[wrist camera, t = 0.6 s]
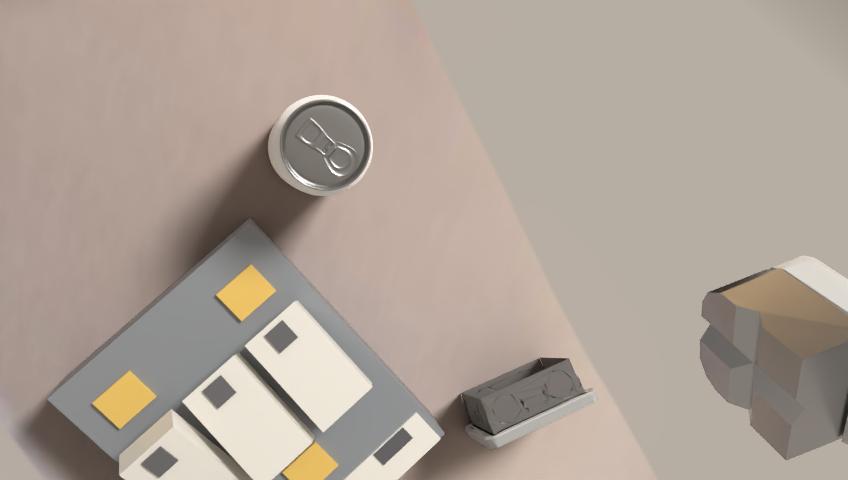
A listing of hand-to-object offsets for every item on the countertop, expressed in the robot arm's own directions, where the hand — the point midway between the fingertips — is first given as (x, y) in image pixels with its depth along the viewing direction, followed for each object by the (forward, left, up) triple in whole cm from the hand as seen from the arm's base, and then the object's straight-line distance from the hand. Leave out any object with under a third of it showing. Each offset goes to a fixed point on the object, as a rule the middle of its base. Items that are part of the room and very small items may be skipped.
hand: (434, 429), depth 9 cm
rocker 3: (-9, +6, -42) cm, 43 cm away
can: (+2, -5, -48) cm, 48 cm away
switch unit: (-10, +11, -48) cm, 50 cm away
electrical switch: (-24, -4, -48) cm, 54 cm away
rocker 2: (-9, +11, -42) cm, 44 cm away
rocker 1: (-9, +17, -42) cm, 46 cm away
